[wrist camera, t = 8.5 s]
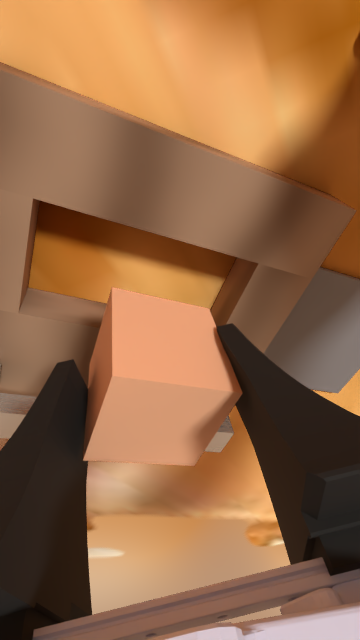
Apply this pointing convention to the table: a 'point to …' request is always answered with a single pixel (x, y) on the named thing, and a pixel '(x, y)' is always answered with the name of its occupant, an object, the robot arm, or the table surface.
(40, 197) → the puzzle board
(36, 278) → the table surface
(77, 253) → the table surface
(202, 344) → the block
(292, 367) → the mat
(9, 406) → the bar
